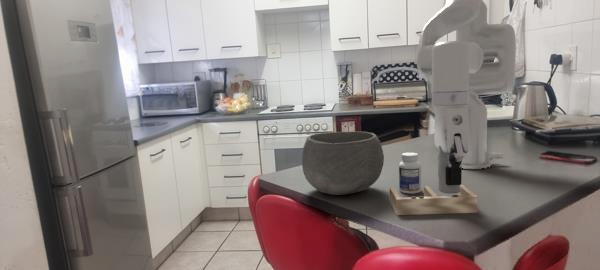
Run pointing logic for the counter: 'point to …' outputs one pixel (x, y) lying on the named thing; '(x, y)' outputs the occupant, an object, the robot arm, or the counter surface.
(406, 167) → the pill bottle
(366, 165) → the bowl
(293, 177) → the counter surface
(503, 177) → the counter surface
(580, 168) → the counter surface
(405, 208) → the slot rack
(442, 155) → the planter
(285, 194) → the counter surface
